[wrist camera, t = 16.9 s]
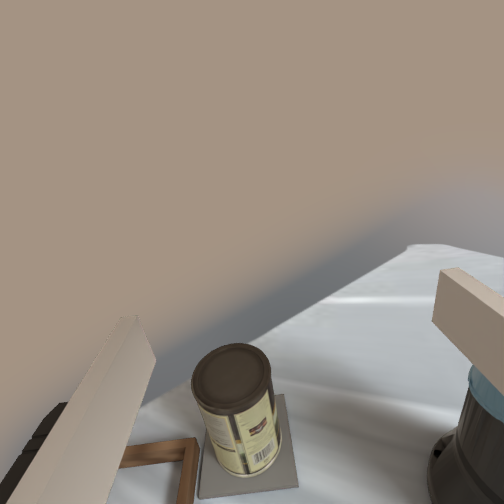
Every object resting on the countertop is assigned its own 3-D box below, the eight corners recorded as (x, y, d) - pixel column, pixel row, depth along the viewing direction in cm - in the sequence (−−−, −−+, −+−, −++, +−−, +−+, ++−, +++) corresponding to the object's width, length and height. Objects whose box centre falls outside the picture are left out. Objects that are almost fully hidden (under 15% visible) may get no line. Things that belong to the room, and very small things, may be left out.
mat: (284, 396, 47) (283, 393, 47) (298, 487, 35) (298, 484, 35) (209, 406, 48) (209, 404, 47) (199, 499, 36) (198, 497, 36)
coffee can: (237, 397, 48) (221, 335, 42) (292, 421, 43) (283, 354, 37) (199, 456, 40) (173, 390, 34) (261, 495, 35) (244, 425, 29)
